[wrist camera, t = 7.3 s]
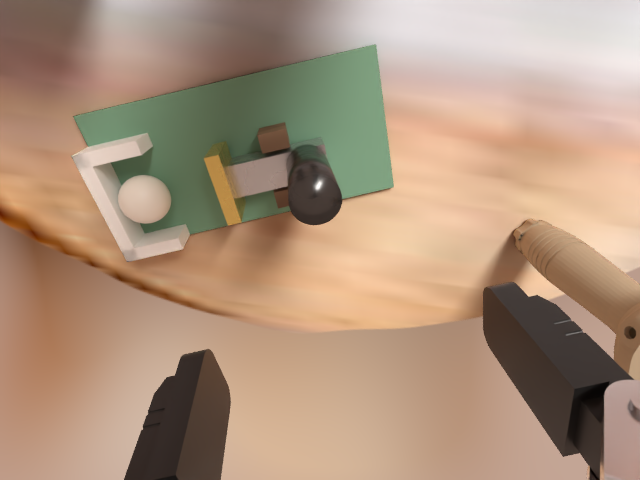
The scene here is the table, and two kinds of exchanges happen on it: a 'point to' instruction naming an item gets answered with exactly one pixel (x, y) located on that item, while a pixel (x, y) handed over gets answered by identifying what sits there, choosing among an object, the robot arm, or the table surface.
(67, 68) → the table surface
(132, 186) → the ball
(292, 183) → the long multicoloured device
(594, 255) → the handle
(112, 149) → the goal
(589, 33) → the table surface
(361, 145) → the pitch
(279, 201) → the brown cardboard carton
